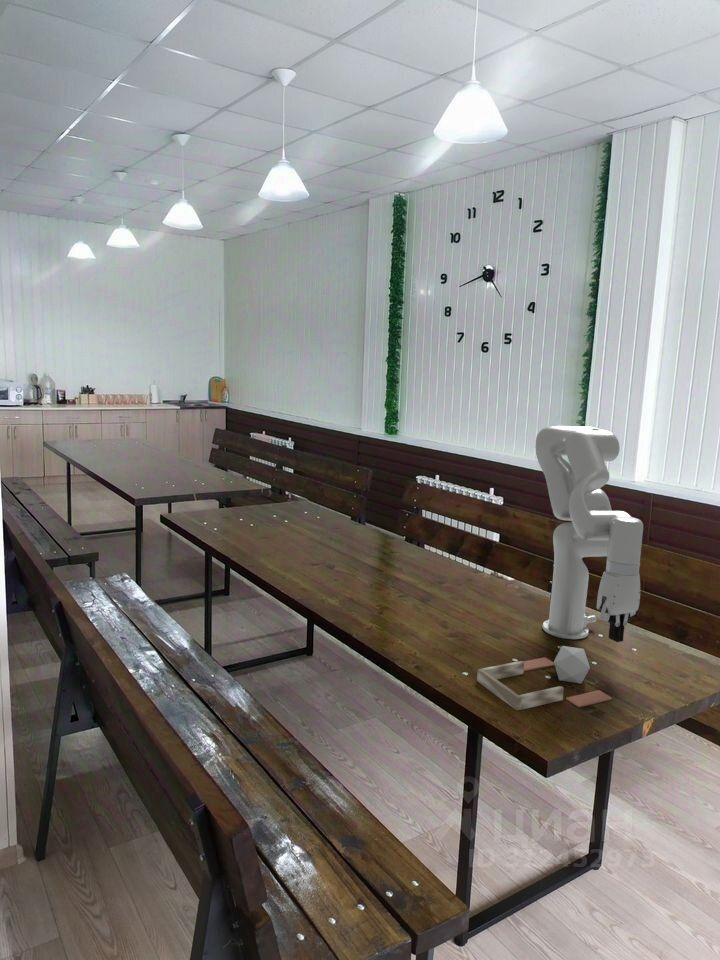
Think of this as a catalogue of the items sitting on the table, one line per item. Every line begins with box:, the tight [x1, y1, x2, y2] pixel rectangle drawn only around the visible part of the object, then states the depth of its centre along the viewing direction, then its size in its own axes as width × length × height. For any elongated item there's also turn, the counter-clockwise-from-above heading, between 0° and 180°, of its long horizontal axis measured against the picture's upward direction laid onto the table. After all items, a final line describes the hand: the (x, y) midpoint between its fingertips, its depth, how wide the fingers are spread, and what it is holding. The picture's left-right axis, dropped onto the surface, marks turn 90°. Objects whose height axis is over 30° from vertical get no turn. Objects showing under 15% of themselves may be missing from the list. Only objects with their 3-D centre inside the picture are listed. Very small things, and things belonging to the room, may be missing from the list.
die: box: [553, 645, 591, 685], centre depth 172 cm, size 8×9×10 cm
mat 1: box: [522, 656, 555, 672], centre depth 179 cm, size 10×4×1 cm, turn 116°
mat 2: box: [565, 689, 613, 708], centre depth 163 cm, size 10×4×1 cm, turn 116°
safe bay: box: [476, 660, 565, 712], centre depth 165 cm, size 13×15×3 cm
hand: (615, 639), depth 176 cm, fingers closed
